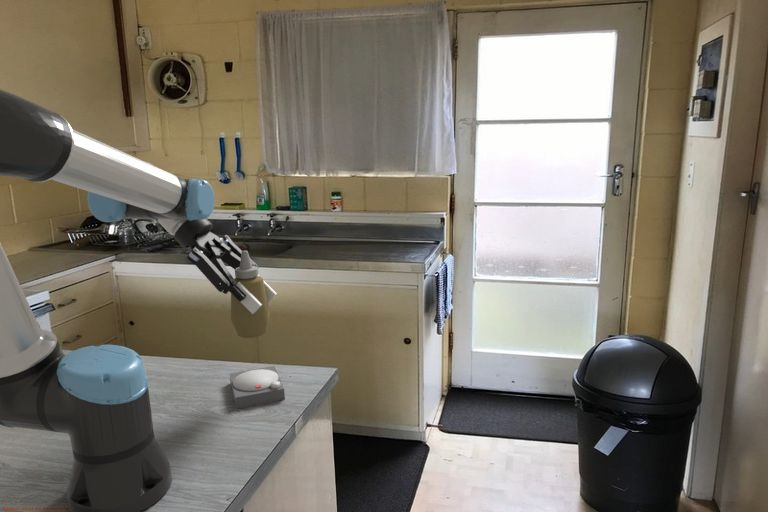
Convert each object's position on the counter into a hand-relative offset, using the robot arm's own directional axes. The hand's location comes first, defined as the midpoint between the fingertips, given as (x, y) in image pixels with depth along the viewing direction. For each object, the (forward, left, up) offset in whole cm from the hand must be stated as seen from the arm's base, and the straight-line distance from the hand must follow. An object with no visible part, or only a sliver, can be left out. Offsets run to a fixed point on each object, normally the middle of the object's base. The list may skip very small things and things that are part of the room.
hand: (265, 303), depth 118 cm
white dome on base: (+2, +3, -20) cm, 20 cm away
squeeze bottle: (+2, +3, -7) cm, 8 cm away
